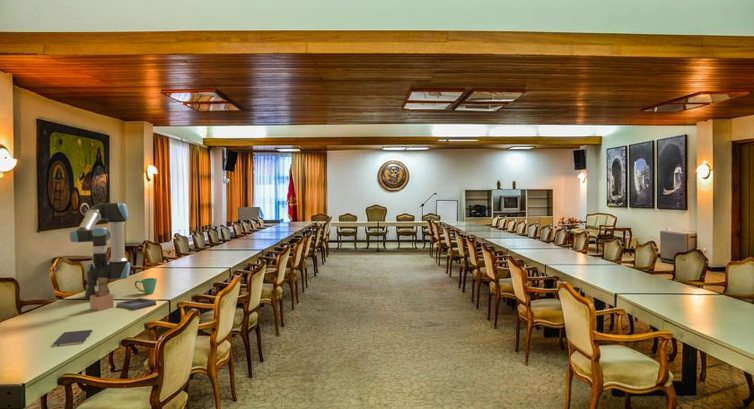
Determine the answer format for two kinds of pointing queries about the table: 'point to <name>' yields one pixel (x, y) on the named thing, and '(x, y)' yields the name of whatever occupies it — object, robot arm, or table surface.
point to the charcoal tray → (137, 303)
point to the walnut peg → (102, 287)
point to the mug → (147, 285)
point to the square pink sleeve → (101, 302)
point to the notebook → (72, 337)
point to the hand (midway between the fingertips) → (101, 290)
